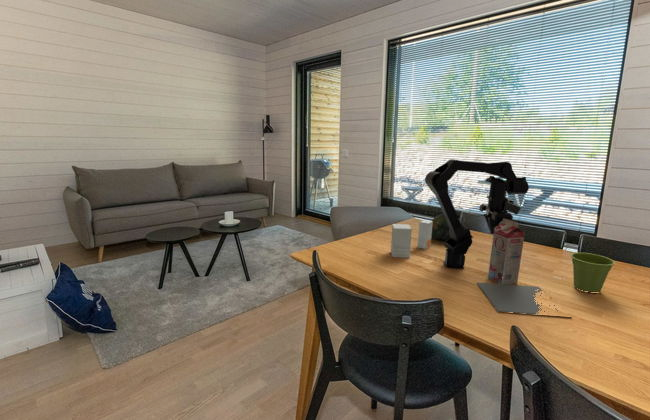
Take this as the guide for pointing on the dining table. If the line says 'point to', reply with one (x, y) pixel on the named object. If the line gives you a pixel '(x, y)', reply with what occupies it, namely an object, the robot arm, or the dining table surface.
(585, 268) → the plant pot
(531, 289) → the mat
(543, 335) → the dining table surface
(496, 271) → the juice carton
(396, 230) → the supplement box
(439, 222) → the squash
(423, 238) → the skincare box
